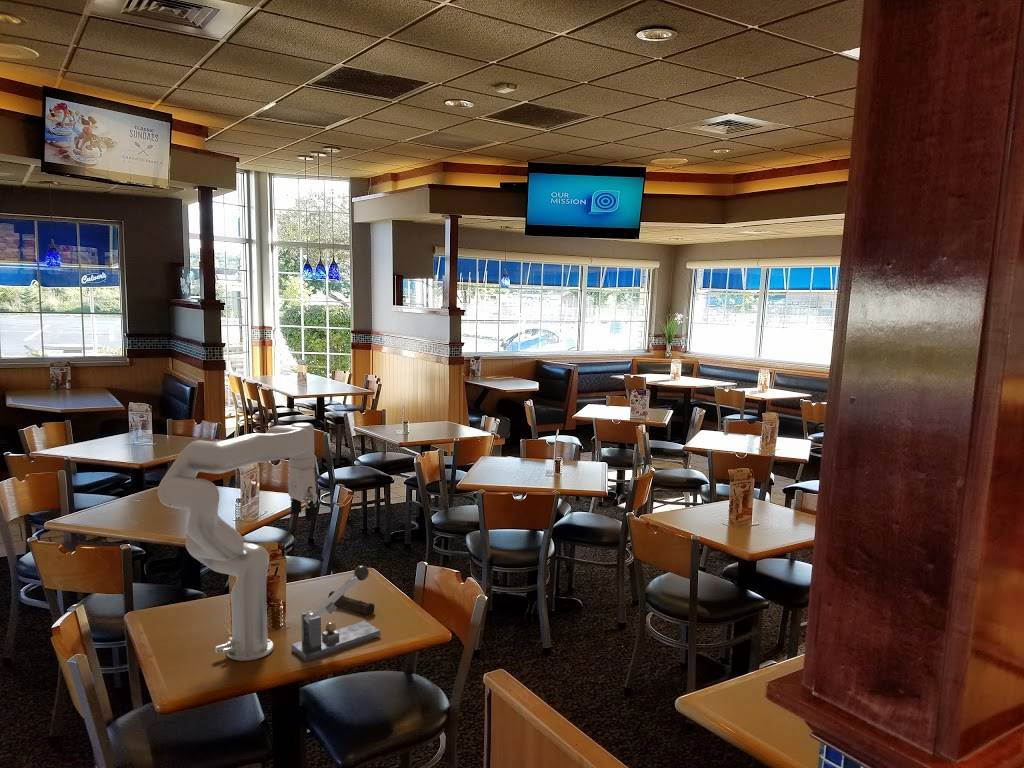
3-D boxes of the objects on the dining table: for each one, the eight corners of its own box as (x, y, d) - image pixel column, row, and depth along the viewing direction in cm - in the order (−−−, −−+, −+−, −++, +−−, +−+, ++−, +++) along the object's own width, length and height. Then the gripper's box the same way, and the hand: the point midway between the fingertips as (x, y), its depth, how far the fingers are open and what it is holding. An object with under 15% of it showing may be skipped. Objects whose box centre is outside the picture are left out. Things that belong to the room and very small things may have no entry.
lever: (314, 631, 207) (306, 619, 205) (307, 626, 211) (299, 614, 209) (374, 576, 219) (367, 564, 217) (367, 572, 223) (359, 560, 221)
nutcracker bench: (306, 661, 204) (305, 624, 203) (291, 650, 210) (290, 613, 209) (380, 636, 220) (379, 601, 219) (364, 626, 226) (364, 592, 225)
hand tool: (375, 614, 237) (375, 600, 236) (366, 618, 233) (366, 604, 233) (334, 601, 247) (334, 587, 246) (325, 605, 244) (325, 591, 243)
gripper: (278, 460, 231) (280, 512, 232) (303, 469, 218) (304, 525, 220) (300, 456, 236) (302, 508, 237) (326, 465, 223) (327, 520, 225)
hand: (303, 516), depth 228 cm, fingers open, 9 cm apart
